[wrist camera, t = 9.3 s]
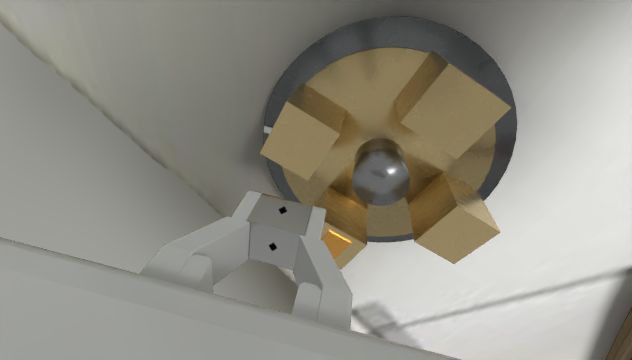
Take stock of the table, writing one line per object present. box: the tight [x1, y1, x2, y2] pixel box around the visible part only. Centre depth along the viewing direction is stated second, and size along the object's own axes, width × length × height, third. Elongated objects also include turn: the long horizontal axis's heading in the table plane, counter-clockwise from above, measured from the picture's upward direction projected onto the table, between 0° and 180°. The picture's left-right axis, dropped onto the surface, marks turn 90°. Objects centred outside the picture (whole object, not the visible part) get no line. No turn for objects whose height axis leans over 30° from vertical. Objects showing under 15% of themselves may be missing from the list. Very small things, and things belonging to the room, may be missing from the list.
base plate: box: [264, 16, 517, 242], centre depth 28 cm, size 24×24×2 cm
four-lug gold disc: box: [260, 46, 512, 269], centre depth 25 cm, size 20×20×6 cm
